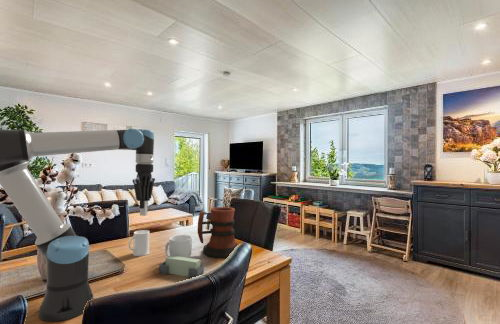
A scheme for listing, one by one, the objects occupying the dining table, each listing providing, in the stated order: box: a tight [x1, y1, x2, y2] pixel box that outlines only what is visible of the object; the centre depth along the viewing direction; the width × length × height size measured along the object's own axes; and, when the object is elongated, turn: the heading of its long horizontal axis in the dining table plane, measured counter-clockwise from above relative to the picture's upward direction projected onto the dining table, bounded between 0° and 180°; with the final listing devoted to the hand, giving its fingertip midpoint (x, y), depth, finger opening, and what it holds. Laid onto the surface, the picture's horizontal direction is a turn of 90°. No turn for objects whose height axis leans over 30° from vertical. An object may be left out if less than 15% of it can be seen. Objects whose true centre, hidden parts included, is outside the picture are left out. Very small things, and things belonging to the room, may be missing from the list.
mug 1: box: [128, 229, 150, 257], centre depth 143 cm, size 12×8×12 cm
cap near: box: [187, 263, 205, 279], centre depth 116 cm, size 6×4×4 cm
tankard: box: [197, 206, 239, 260], centre depth 149 cm, size 22×25×25 cm
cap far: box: [158, 260, 169, 276], centre depth 120 cm, size 6×4×4 cm
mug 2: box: [164, 234, 193, 258], centre depth 131 cm, size 15×11×13 cm
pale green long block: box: [165, 255, 201, 277], centre depth 118 cm, size 4×16×7 cm, turn 72°
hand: (143, 215), depth 118 cm, fingers closed
